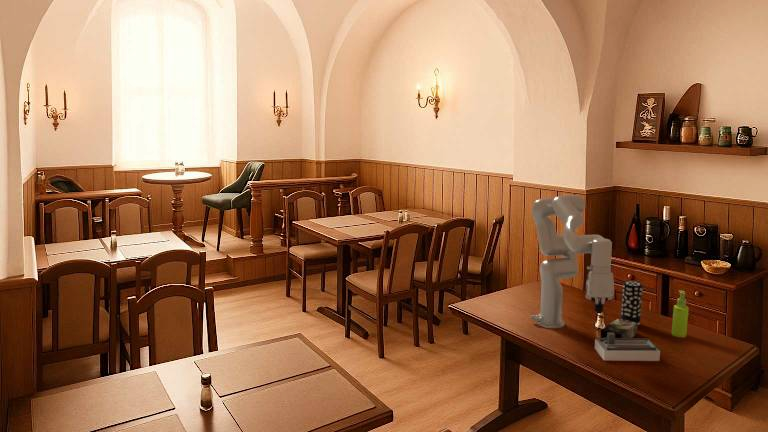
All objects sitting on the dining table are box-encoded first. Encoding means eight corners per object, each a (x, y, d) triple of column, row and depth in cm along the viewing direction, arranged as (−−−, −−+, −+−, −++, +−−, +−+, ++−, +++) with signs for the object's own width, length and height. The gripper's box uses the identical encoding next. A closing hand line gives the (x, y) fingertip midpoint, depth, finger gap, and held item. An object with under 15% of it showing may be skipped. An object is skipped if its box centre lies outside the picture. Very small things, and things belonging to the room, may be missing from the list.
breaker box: (603, 360, 234) (604, 348, 233) (594, 348, 245) (595, 336, 244) (659, 360, 233) (660, 348, 232) (647, 348, 244) (648, 337, 243)
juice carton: (616, 328, 268) (617, 315, 266) (638, 333, 261) (639, 321, 260) (598, 342, 253) (599, 328, 252) (621, 348, 247) (622, 334, 245)
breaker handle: (608, 346, 237) (609, 334, 236) (606, 343, 240) (607, 332, 239) (614, 346, 237) (615, 334, 236) (612, 343, 240) (613, 332, 239)
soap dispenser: (684, 332, 261) (688, 290, 258) (687, 338, 255) (691, 294, 251) (670, 330, 263) (673, 288, 260) (672, 336, 257) (676, 293, 253)
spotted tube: (642, 327, 267) (645, 286, 264) (624, 327, 268) (627, 286, 264) (635, 321, 276) (638, 280, 272) (617, 321, 276) (620, 281, 272)
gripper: (584, 271, 229) (582, 315, 233) (622, 271, 229) (620, 315, 232) (579, 266, 237) (577, 309, 240) (616, 266, 236) (613, 309, 239)
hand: (598, 312), depth 236 cm, fingers closed
